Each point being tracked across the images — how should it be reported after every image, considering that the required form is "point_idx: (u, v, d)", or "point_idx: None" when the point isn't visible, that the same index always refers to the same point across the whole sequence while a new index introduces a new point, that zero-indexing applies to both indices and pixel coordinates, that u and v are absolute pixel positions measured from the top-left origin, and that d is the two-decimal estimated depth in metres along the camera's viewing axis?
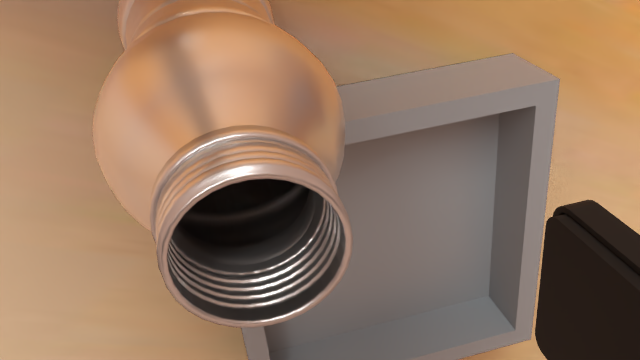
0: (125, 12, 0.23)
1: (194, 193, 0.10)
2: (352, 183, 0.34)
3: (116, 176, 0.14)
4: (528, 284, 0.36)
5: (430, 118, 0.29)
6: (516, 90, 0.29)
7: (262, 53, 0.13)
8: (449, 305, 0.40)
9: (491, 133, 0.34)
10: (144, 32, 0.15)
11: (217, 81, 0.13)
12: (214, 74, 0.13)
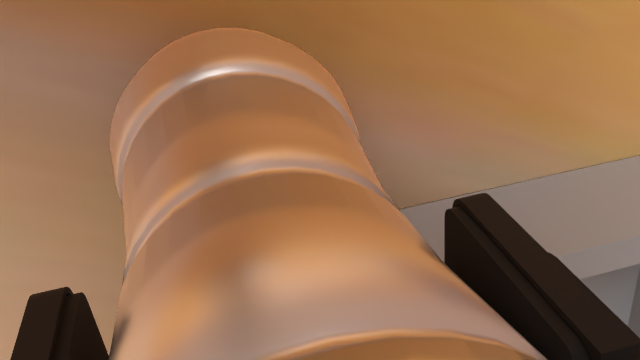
0: (122, 147, 0.14)
1: None
2: None
3: None
4: None
5: (580, 267, 0.19)
6: None
7: None
8: None
9: None
10: None
11: None
12: None
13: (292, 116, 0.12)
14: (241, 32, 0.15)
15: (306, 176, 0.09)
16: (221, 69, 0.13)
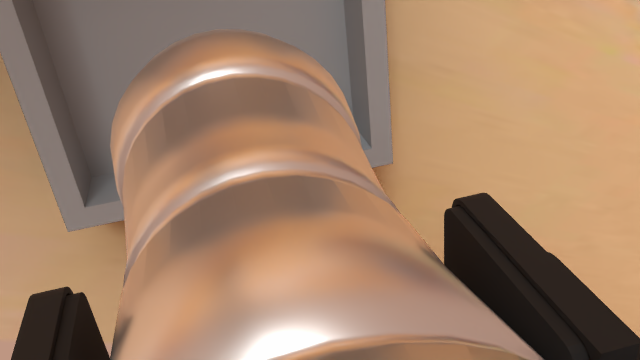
0: (122, 149, 0.14)
1: None
2: None
3: None
4: (378, 85, 0.31)
5: None
6: None
7: None
8: None
9: None
10: None
11: None
12: None
13: (293, 118, 0.12)
14: (242, 34, 0.15)
15: (307, 179, 0.09)
16: (222, 71, 0.13)
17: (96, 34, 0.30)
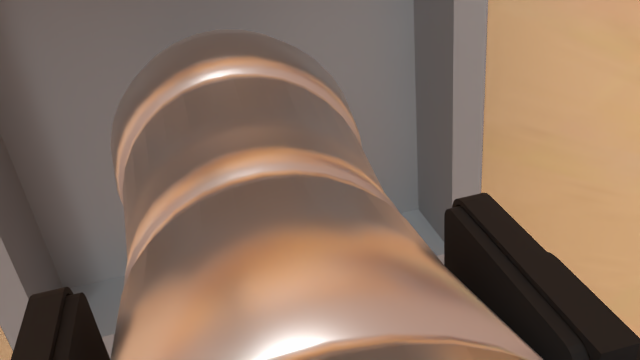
0: (123, 150, 0.14)
1: None
2: None
3: None
4: (466, 170, 0.22)
5: None
6: None
7: None
8: None
9: None
10: None
11: None
12: None
13: (293, 119, 0.12)
14: (242, 34, 0.15)
15: (307, 180, 0.09)
16: (222, 71, 0.13)
17: (66, 102, 0.21)
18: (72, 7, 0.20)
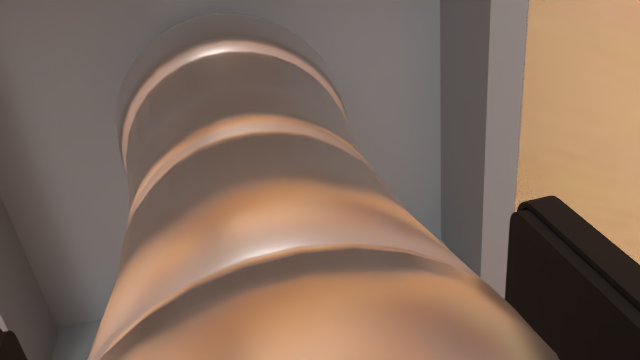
0: (127, 119, 0.15)
1: None
2: (164, 2, 0.18)
3: None
4: (499, 202, 0.20)
5: None
6: None
7: None
8: None
9: None
10: (163, 274, 0.07)
11: None
12: None
13: (282, 90, 0.13)
14: (239, 16, 0.16)
15: (291, 137, 0.10)
16: (220, 48, 0.14)
17: (60, 130, 0.19)
18: (65, 26, 0.18)
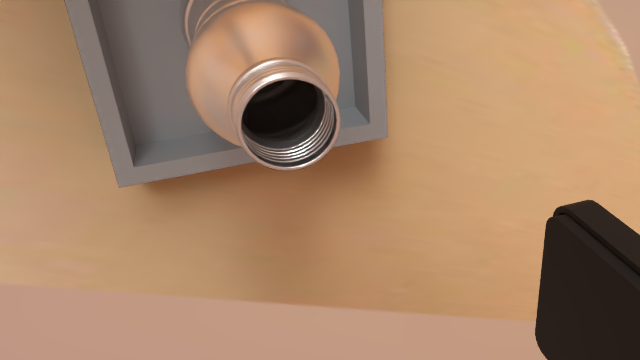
0: (188, 6, 0.33)
1: (258, 85, 0.20)
2: None
3: (202, 93, 0.23)
4: (376, 70, 0.38)
5: None
6: None
7: (291, 22, 0.23)
8: None
9: None
10: (217, 11, 0.25)
11: (265, 36, 0.22)
12: (263, 32, 0.22)
13: None
14: None
15: None
16: None
17: (146, 25, 0.37)
18: None
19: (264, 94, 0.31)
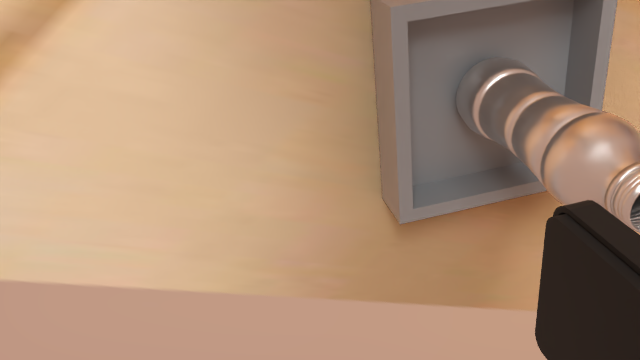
0: (480, 95, 0.44)
1: None
2: (470, 52, 0.48)
3: (570, 178, 0.35)
4: None
5: None
6: None
7: (631, 131, 0.35)
8: None
9: (567, 19, 0.48)
10: (563, 118, 0.37)
11: (622, 143, 0.34)
12: (618, 140, 0.34)
13: (544, 84, 0.42)
14: (509, 59, 0.46)
15: (561, 96, 0.40)
16: (513, 71, 0.44)
17: (423, 101, 0.49)
18: (435, 62, 0.47)
19: None
